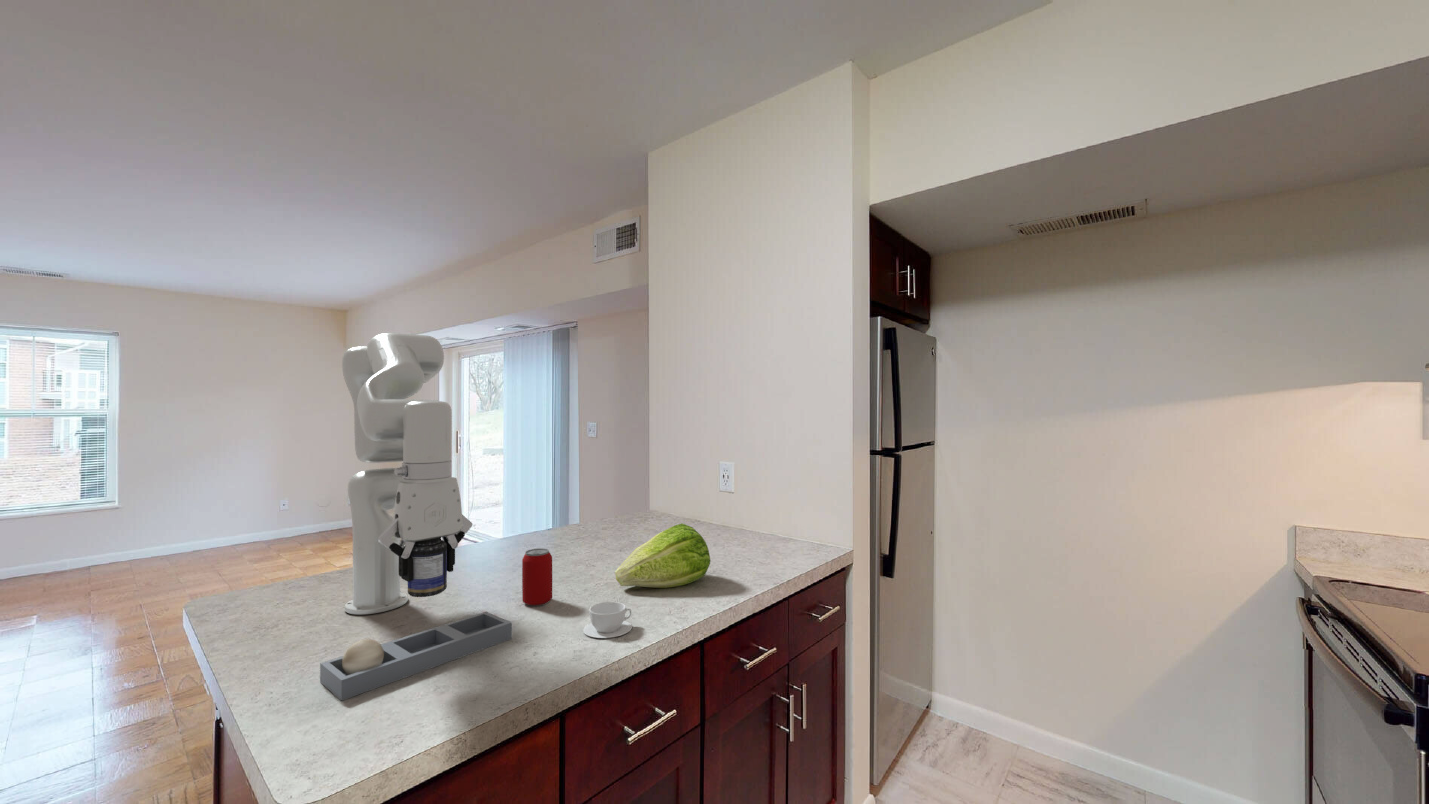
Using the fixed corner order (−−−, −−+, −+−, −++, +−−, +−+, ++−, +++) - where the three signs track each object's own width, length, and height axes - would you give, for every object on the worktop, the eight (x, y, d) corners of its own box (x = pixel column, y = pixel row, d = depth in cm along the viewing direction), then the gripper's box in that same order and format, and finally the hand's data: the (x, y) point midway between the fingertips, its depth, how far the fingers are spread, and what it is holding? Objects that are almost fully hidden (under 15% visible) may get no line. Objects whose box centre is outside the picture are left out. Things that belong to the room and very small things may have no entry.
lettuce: (637, 619, 133) (622, 606, 148) (723, 571, 143) (701, 563, 157) (613, 562, 133) (601, 555, 147) (701, 518, 143) (681, 515, 157)
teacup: (590, 644, 109) (590, 620, 109) (577, 626, 117) (577, 604, 118) (639, 634, 113) (639, 611, 113) (623, 617, 122) (623, 596, 122)
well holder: (320, 682, 94) (320, 663, 94) (486, 626, 117) (486, 611, 117) (341, 700, 88) (341, 680, 88) (511, 638, 111) (511, 622, 111)
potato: (336, 677, 94) (336, 641, 94) (375, 664, 99) (375, 630, 99) (350, 688, 90) (350, 651, 90) (390, 674, 95) (390, 639, 95)
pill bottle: (417, 586, 100) (417, 525, 100) (452, 585, 101) (452, 524, 101) (400, 598, 94) (400, 533, 94) (437, 598, 95) (438, 532, 95)
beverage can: (556, 597, 135) (556, 547, 135) (545, 607, 128) (545, 555, 128) (529, 597, 135) (529, 547, 135) (517, 607, 128) (517, 554, 129)
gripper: (381, 479, 88) (381, 592, 88) (486, 468, 102) (485, 567, 102) (364, 474, 93) (364, 582, 93) (465, 465, 106) (465, 560, 107)
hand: (427, 573), depth 97 cm, fingers closed on pill bottle, 6 cm apart
